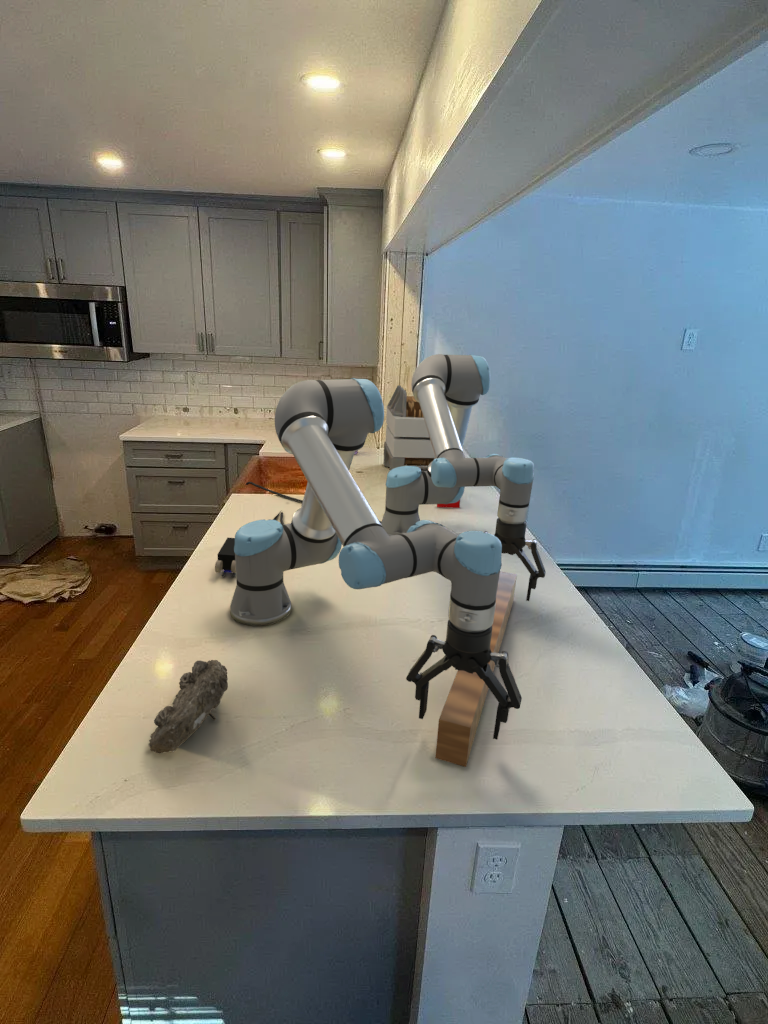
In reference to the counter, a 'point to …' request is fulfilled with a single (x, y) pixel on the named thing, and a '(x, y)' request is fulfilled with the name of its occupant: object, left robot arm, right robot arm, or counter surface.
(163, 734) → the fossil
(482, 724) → the counter surface
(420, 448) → the grey wooden crate
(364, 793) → the counter surface
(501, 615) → the post
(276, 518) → the feather
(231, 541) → the black toy vehicle
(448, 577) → the left robot arm
